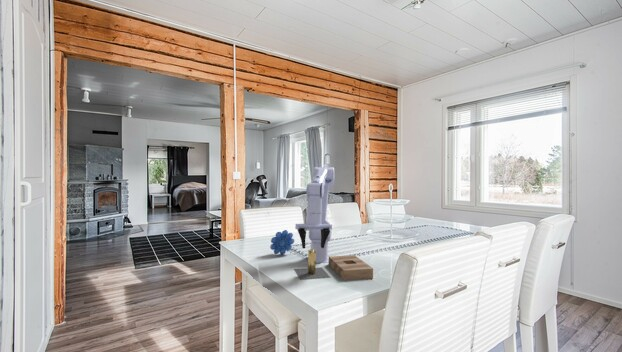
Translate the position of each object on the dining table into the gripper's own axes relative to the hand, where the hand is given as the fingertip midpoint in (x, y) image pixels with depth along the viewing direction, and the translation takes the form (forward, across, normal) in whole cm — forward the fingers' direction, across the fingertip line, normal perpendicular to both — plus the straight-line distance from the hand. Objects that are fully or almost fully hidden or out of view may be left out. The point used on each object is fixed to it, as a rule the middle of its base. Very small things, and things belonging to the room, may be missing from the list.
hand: (313, 247), depth 113 cm
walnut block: (+10, +16, +1) cm, 19 cm away
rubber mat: (+11, 0, +1) cm, 11 cm away
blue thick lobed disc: (+9, -7, +31) cm, 33 cm away
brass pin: (+10, 0, +1) cm, 10 cm away
